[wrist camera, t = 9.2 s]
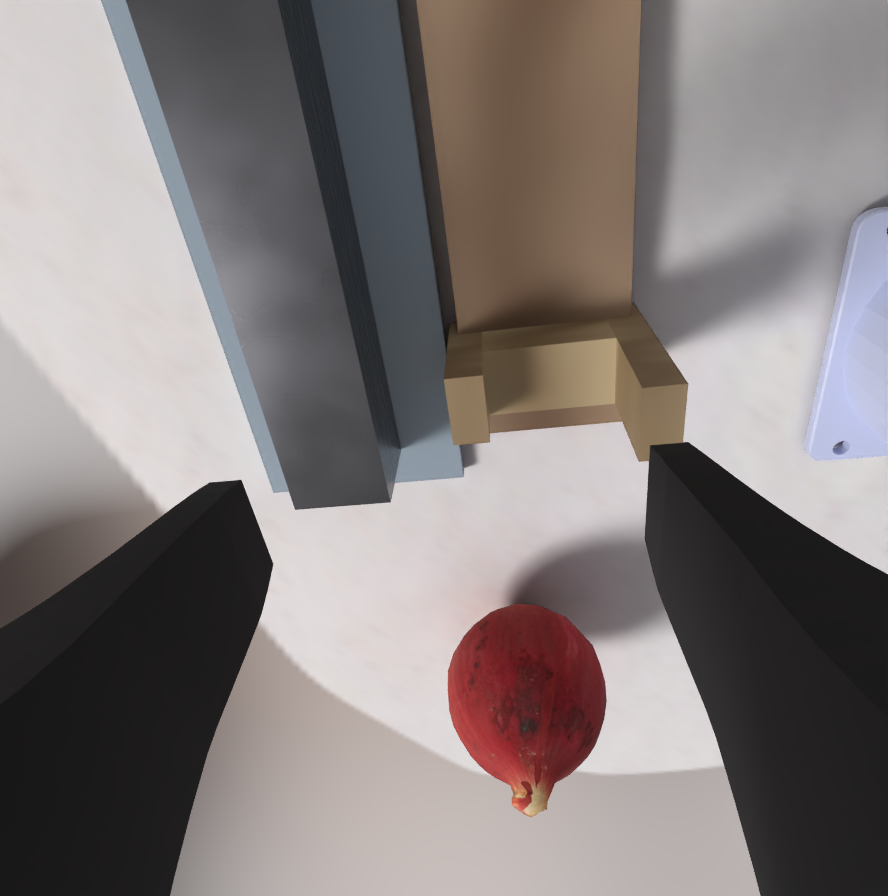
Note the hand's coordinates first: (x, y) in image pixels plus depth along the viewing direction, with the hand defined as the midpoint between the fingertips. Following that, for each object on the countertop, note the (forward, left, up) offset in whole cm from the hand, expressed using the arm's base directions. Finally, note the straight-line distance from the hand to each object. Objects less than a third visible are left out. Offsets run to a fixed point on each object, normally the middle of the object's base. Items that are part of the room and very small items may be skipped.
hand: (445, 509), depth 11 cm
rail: (+4, -5, -9) cm, 11 cm away
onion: (-1, +13, -10) cm, 16 cm away
